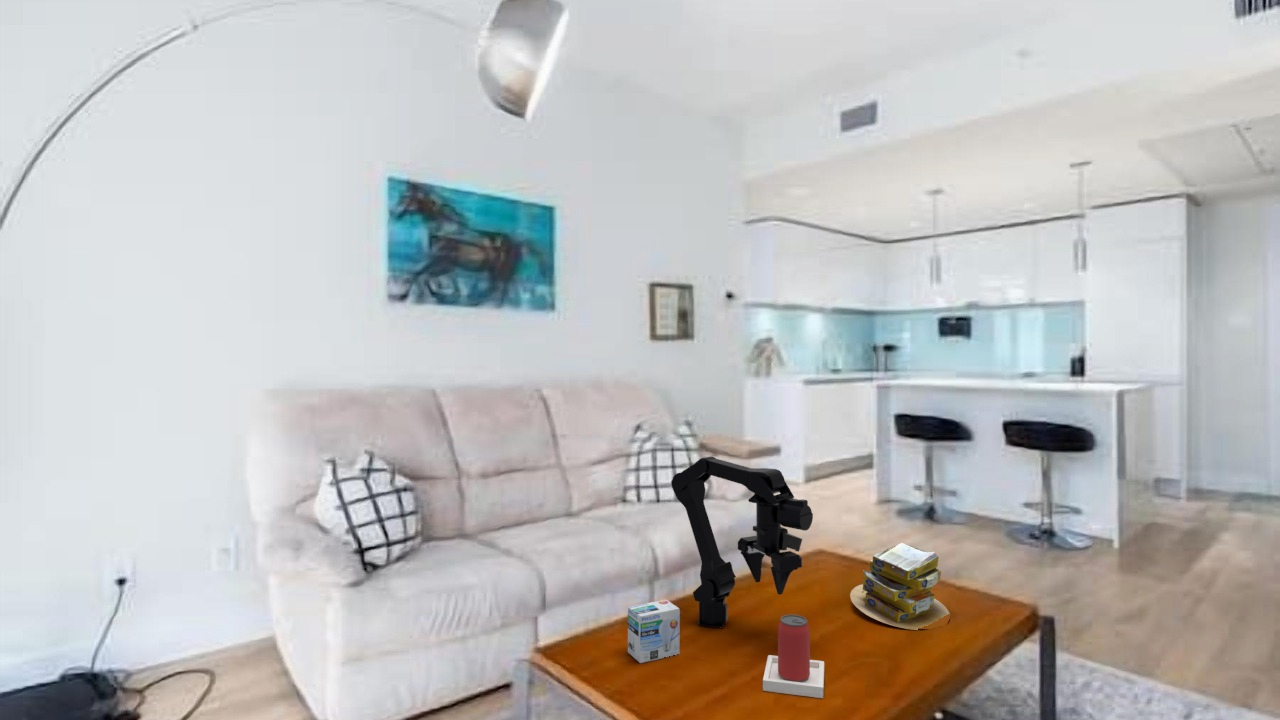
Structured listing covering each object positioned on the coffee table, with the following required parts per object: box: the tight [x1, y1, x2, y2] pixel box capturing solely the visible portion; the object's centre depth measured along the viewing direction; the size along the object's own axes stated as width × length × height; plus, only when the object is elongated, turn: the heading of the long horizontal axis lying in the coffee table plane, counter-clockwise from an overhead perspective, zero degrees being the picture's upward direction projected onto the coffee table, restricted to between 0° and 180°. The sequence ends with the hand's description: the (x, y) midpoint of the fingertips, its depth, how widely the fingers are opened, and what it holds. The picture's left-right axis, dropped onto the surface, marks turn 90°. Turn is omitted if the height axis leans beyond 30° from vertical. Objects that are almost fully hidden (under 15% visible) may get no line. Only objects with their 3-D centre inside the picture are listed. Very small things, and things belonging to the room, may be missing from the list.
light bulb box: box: [627, 599, 681, 664], centre depth 161 cm, size 11×7×11 cm, turn 118°
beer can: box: [777, 614, 811, 682], centre depth 148 cm, size 7×7×12 cm
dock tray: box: [762, 654, 825, 699], centre depth 148 cm, size 12×12×2 cm
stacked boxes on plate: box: [849, 542, 951, 631], centre depth 186 cm, size 25×25×17 cm
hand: (768, 588), depth 167 cm, fingers open, 9 cm apart
